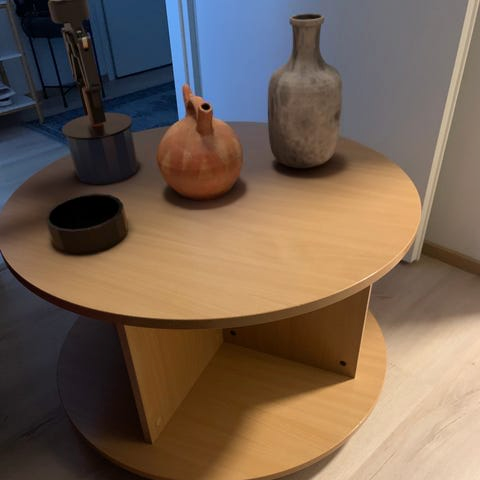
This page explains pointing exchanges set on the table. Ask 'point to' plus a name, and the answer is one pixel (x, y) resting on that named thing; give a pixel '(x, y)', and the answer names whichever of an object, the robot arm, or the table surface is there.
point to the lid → (96, 125)
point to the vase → (304, 100)
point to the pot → (104, 158)
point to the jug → (199, 152)
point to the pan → (87, 223)
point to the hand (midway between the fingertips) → (95, 117)
